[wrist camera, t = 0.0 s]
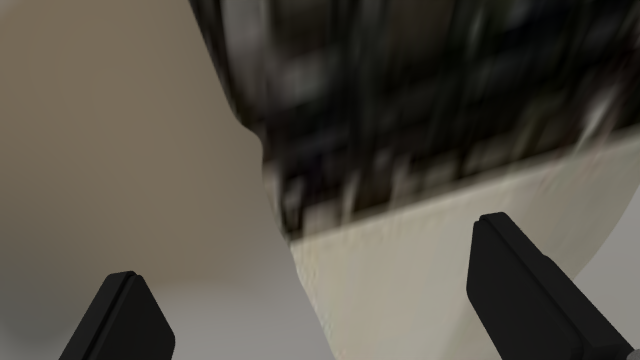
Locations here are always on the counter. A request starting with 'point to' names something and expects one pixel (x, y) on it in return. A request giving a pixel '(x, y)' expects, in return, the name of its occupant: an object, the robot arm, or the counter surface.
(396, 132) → the counter surface
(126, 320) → the robot arm
